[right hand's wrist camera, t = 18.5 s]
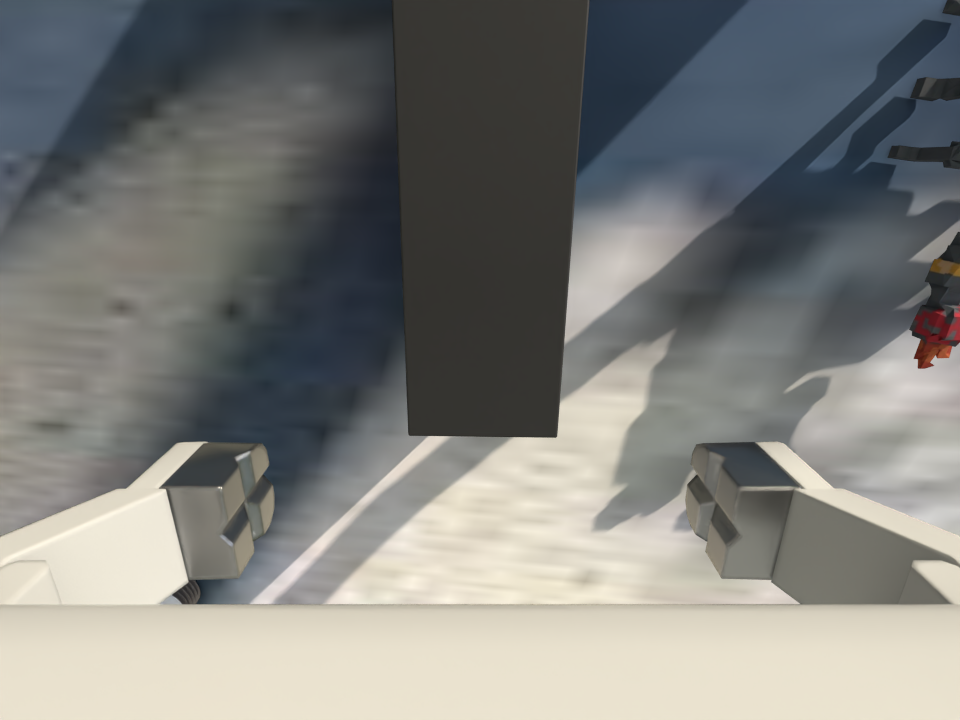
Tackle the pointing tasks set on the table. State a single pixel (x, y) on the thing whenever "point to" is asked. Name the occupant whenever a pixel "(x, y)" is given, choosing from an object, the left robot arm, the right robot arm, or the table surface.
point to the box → (486, 207)
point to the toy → (956, 269)
